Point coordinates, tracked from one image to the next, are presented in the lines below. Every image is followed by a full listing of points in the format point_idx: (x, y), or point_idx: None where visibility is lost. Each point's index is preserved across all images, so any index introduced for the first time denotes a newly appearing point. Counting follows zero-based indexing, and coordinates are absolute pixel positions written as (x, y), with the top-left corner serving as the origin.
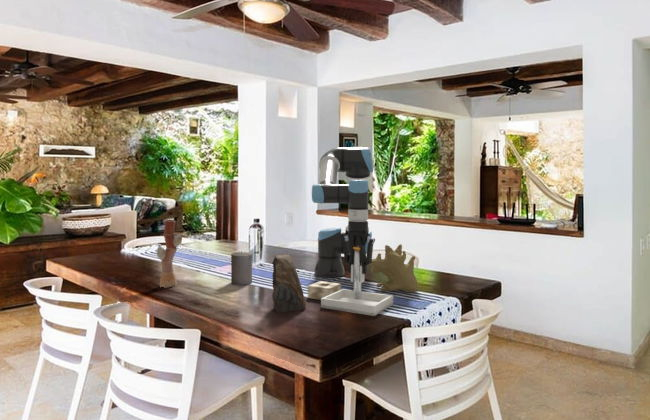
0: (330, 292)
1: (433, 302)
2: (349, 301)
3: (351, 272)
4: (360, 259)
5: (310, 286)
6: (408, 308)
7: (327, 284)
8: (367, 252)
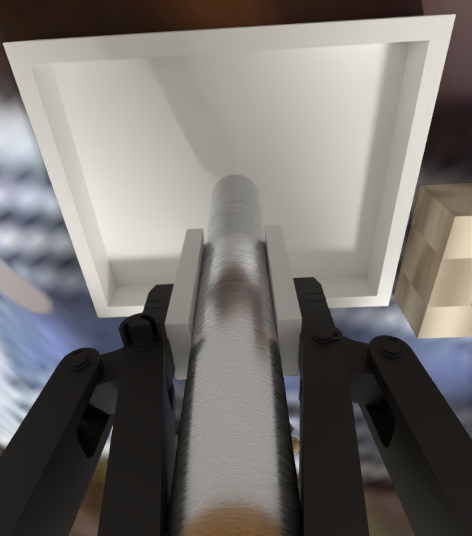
0: (436, 218)
1: (14, 379)
2: (292, 196)
3: (285, 267)
4: (184, 399)
5: None
6: (18, 270)
7: None
8: (11, 511)
